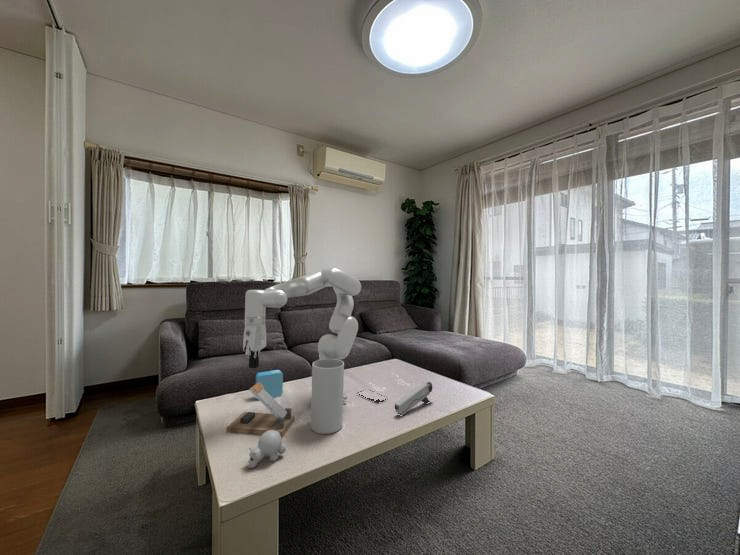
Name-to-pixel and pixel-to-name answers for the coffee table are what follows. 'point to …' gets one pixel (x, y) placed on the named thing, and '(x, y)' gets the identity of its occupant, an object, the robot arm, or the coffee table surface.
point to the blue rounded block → (271, 382)
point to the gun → (414, 398)
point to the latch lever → (268, 400)
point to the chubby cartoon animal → (266, 448)
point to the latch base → (261, 423)
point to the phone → (373, 399)
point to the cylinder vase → (327, 395)
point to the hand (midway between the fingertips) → (253, 367)
